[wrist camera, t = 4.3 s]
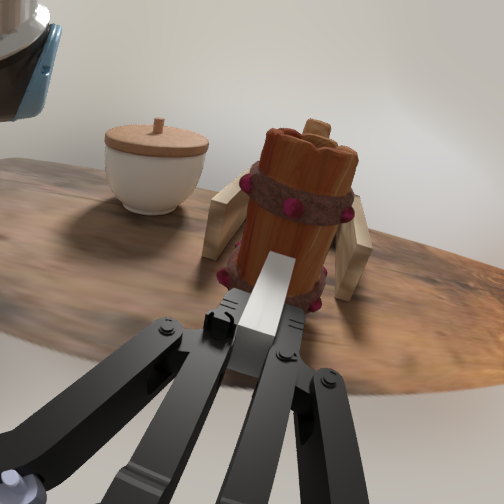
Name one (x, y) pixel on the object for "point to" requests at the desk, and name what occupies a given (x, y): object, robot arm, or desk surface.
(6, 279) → the desk surface
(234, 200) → the wooden u-shaped frame
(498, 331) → the desk surface
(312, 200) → the mug
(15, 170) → the desk surface
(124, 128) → the lidded bowl
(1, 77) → the robot arm
